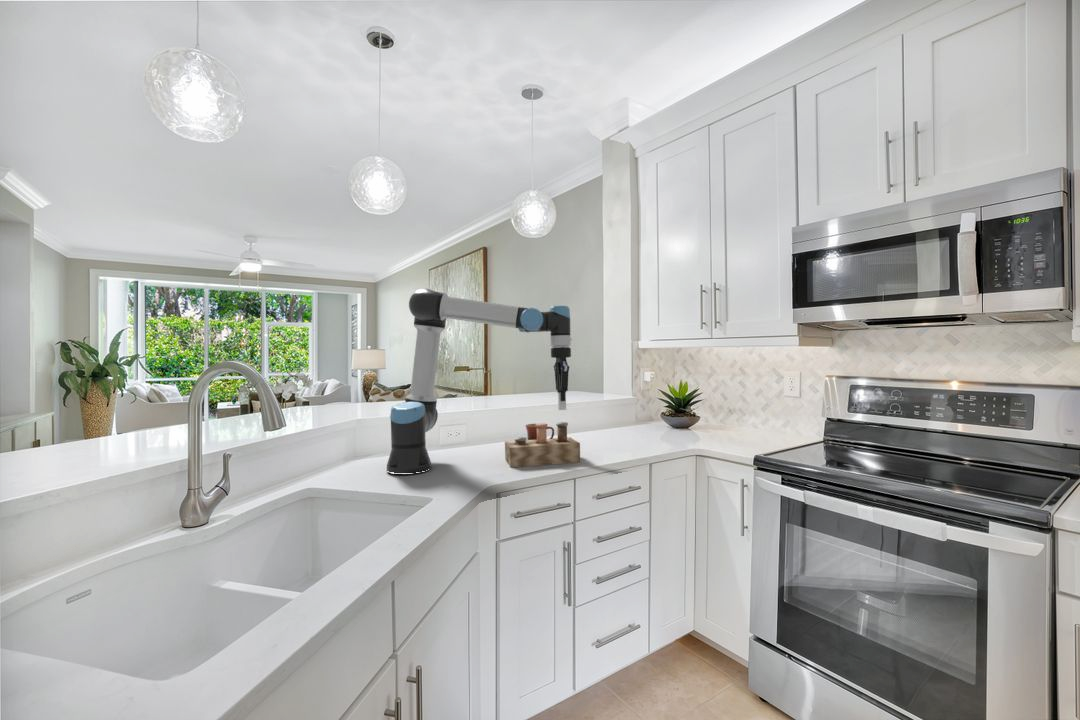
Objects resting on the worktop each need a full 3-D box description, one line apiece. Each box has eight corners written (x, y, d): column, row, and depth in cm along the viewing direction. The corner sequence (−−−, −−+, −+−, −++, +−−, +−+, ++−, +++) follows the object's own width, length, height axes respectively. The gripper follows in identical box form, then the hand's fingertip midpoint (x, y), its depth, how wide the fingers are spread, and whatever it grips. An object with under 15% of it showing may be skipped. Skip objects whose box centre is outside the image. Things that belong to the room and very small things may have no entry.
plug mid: (537, 449, 172) (537, 425, 172) (534, 446, 177) (534, 423, 177) (549, 448, 173) (548, 424, 173) (546, 446, 178) (545, 423, 178)
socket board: (510, 467, 166) (510, 447, 166) (505, 459, 178) (504, 441, 178) (580, 462, 172) (579, 443, 172) (570, 455, 184) (570, 437, 184)
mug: (524, 451, 192) (524, 426, 192) (527, 447, 200) (526, 423, 200) (553, 451, 191) (553, 426, 190) (555, 447, 199) (554, 423, 199)
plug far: (558, 447, 174) (558, 424, 174) (555, 445, 179) (554, 422, 178) (569, 447, 175) (569, 423, 175) (566, 444, 180) (566, 421, 179)
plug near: (516, 463, 171) (515, 439, 171) (514, 460, 175) (513, 437, 175) (528, 462, 172) (527, 438, 172) (525, 460, 176) (525, 436, 176)
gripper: (575, 346, 171) (576, 411, 171) (565, 347, 183) (566, 407, 184) (555, 347, 169) (557, 412, 169) (546, 347, 182) (548, 408, 182)
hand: (562, 409), depth 177 cm, fingers closed
